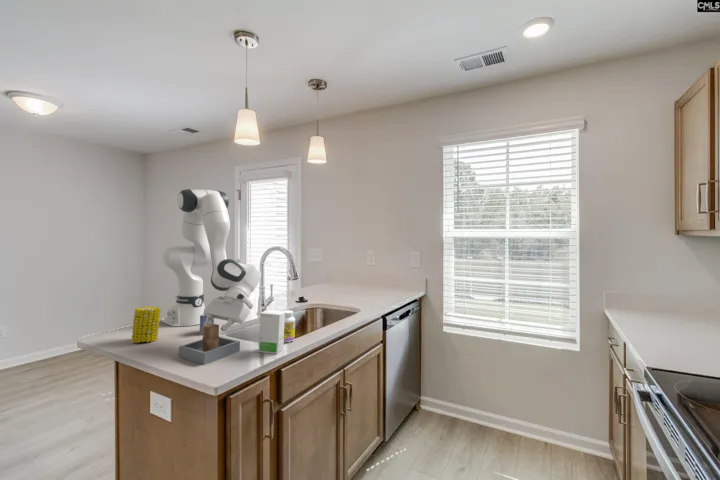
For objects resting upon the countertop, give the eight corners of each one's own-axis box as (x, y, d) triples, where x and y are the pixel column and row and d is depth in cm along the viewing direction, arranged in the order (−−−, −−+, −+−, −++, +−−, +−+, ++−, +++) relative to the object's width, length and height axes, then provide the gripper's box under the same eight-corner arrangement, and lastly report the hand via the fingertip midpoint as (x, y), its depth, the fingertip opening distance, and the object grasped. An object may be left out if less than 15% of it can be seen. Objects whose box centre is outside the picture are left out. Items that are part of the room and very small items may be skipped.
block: (202, 351, 128) (202, 325, 128) (211, 348, 132) (211, 323, 132) (209, 353, 126) (210, 327, 126) (218, 350, 130) (218, 324, 130)
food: (126, 346, 139) (149, 340, 149) (147, 343, 135) (169, 338, 145) (123, 309, 141) (145, 306, 150) (143, 305, 137) (165, 302, 146)
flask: (203, 335, 152) (203, 311, 152) (197, 335, 152) (197, 311, 152) (215, 329, 161) (215, 307, 161) (209, 329, 161) (209, 307, 161)
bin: (178, 357, 125) (179, 346, 125) (215, 345, 139) (215, 335, 139) (204, 364, 119) (204, 353, 119) (239, 351, 133) (239, 341, 133)
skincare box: (257, 352, 132) (258, 313, 132) (264, 347, 138) (265, 309, 138) (278, 354, 131) (279, 314, 131) (284, 348, 137) (285, 310, 137)
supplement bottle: (276, 342, 145) (277, 312, 145) (282, 338, 151) (283, 309, 151) (291, 343, 144) (292, 313, 144) (296, 339, 150) (297, 310, 150)
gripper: (213, 291, 142) (191, 319, 133) (248, 297, 132) (228, 327, 124) (221, 300, 146) (201, 328, 137) (256, 306, 137) (237, 336, 128)
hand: (214, 328), depth 131 cm, fingers open, 8 cm apart
